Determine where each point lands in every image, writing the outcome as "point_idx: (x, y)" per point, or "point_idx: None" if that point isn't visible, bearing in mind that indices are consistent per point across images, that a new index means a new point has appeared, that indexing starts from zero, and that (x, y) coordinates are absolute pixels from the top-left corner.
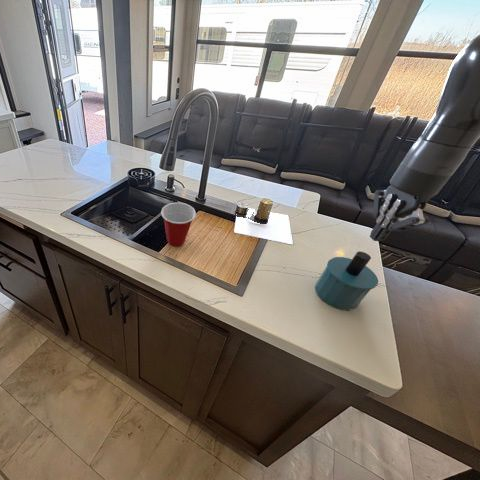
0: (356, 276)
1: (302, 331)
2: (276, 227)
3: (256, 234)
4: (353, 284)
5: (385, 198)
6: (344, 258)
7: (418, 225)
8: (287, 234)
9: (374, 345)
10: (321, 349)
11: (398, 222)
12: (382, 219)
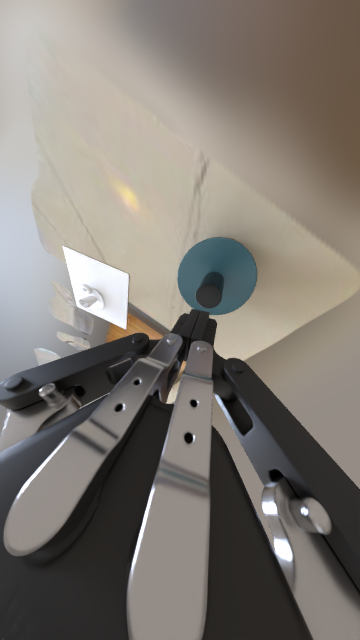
0: (225, 282)
1: (259, 335)
2: (99, 279)
3: (122, 309)
4: (241, 300)
5: (75, 410)
6: (180, 273)
7: (337, 476)
8: (109, 271)
9: (310, 267)
10: (285, 330)
11: (240, 436)
12: (175, 377)
